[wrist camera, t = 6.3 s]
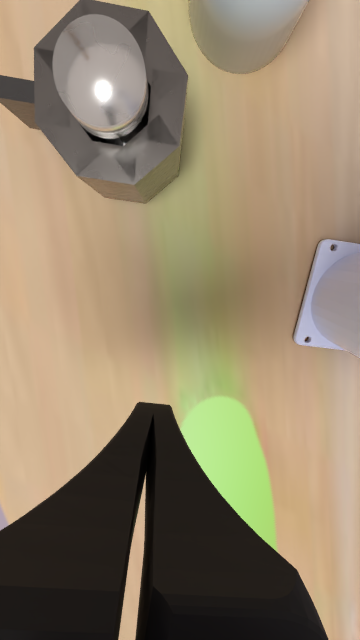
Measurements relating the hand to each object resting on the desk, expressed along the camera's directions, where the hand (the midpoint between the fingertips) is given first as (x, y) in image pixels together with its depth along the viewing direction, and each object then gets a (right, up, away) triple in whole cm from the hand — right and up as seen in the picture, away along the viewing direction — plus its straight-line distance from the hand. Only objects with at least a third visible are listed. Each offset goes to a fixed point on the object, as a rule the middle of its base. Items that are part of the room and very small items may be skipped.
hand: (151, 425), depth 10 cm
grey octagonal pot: (-3, +16, +6) cm, 17 cm away
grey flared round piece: (-2, +16, +6) cm, 17 cm away
